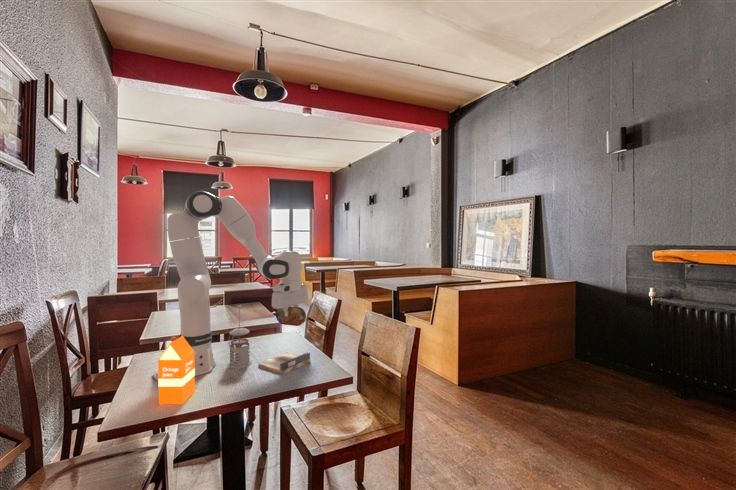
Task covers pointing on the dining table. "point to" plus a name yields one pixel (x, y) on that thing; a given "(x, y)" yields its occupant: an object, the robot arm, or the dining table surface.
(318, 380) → the dining table surface
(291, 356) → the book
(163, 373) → the orange juice
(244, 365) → the french press
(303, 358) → the price rail
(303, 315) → the oval plaque
